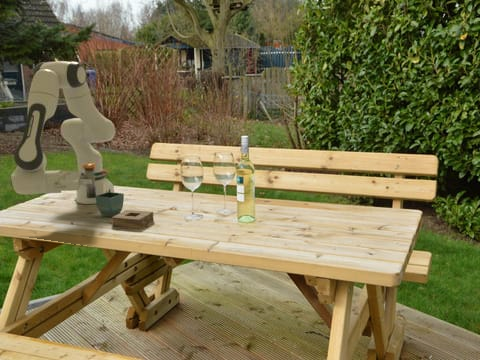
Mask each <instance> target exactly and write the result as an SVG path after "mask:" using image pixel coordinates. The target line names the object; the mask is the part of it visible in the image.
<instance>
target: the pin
mask: <svg viewBox="0 0 480 360" xmlns="http://www.w3.org/2000/svg"><path fill="white" fill-rule="evenodd" d="M95 167H96V165H95V164H92V163H90V164H83V168H84V169H85V179H92V184H86V196H87V198H95V197H96V190H95V174H94V168H95Z"/></svg>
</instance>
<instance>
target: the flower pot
mask: <svg viewBox="0 0 480 360" xmlns="http://www.w3.org/2000/svg"><path fill="white" fill-rule="evenodd" d="M95 198H96V203H95V204H96V207H97V209H98V211H99V213H100V214H101V216H103V217H109V218H112V217H114V216H116V215H118V214H120V213H122V210H123V208H124V207H123V206H124V200H125V199H124V198H125V194H124V193H123V192H122V193H121V192H116V193H113V192H107V193H104V194H100V195H97V196H96V197H95Z"/></svg>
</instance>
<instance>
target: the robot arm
mask: <svg viewBox="0 0 480 360" xmlns="http://www.w3.org/2000/svg"><path fill="white" fill-rule="evenodd" d="M60 89H62V93H63V97H64V99H65V102H66V106H67V109H68V111H69V112H70V113H71V115H74V116H75V118H68V119H66V120H64V121H63V122H62V124H61V126H60V133H61V137H63V139H64V140H65V141H67V142H68V143H69V144H70V146H71V147H72V149H73V150H74V153H75V155H76V160H77V169H78V171H77V170H63V171H62V169H56V170H46V168H47V156H46V155H45V153H44V152H43V150H42V147H41V141H42V135H43V131H44V127H45V123H46V121H47V120H48V119H51V118H52V117H53V116H54V115H55V112H56V111H57V107H58V102H59V97H60ZM115 135H116V126H115V124H114V122H112V120H110V119H108V118H106V117H105V116H104V115H103V114H102V113H101V112H100V111H99V110H98V108H97V107H96V105H95V103H94V101H93V98H92V95H91V92H90V88H89V86H88V82H87V72H86V69H85V67H84V66H83V65H82V64H81V63H79V62H76V61H64V60H62V61H61V60H58V61H48V62H47V61H43V62H42V61H41V62H38V63H37V64H36V65H35V66H34V68H33V70H32V81H31V84H30V88H29V92H28V98H27V118H26V122H25V125H24V131H23V135H22V139H21V141H20V143H19V144H18V145H17V146H16V149H14V153H13V158H14V162H15V165H17V166H16V168H15V169H14V171H13V172H12V173H11V175H10V184H11V188H12V190H13V191H14V192H15V193H16V194H18V195H38V194H59V193H60V194H61V193H62V191H64V192H65V191H67V192H69V191H71V192H72V191H76V195H75V197H74V200H75V201H76V203H78V204H85V205H91V204H92V205H93V204H97V203H96V198H87V196H86V184H92V179H85V169H84V168H83V164H90V163H92V164H95V165H96V167H95V168H94V174H95V190H96V196H97V195H100V194H104V193H107V192H113V193H117V192H115V188H114V184H113V183H112V182H111V181H110V180H109V179H107V178H106V175H108V173H109V172H108V170H107V169H106V170H105V169H103V156H102V154H101V153H100V151H98V150H97V149H95V148H94V146H92V144H91V143H105V142H110V141H112V140H113V138H114V137H115Z"/></svg>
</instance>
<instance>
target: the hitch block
mask: <svg viewBox="0 0 480 360" xmlns="http://www.w3.org/2000/svg"><path fill="white" fill-rule="evenodd" d="M153 222H154V211H147V210H132V209H125V210H124V211H121V212H120V214H118V215H115V216H113V217H111V224H112V225H111V227H112V228H117V229H118V228H119V229H129V230H130V229H131V230H139V231H140V230H141V229H143V228H145V227H146V226H148V225H150V224H152V223H153Z"/></svg>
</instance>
